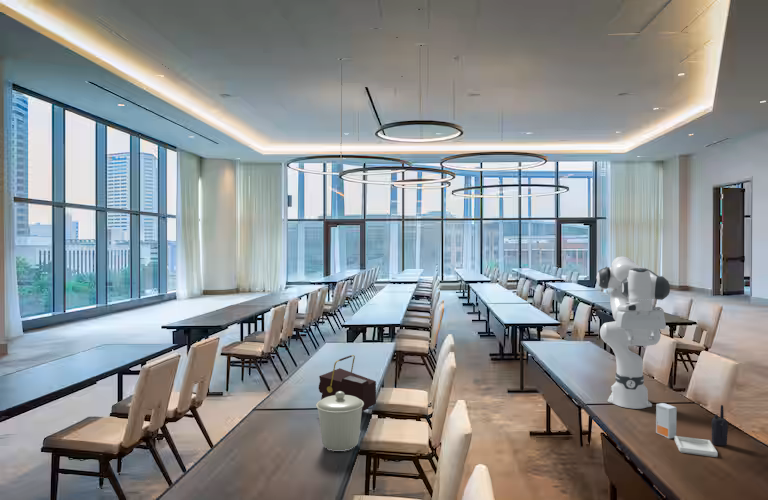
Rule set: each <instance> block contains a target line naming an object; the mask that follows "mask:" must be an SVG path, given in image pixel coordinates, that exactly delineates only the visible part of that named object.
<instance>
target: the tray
mask: <svg viewBox="0 0 768 500" xmlns="http://www.w3.org/2000/svg"><path fill="white" fill-rule="evenodd" d="M673 439H674V443H675V444H676V447H677V449H678V451H679V453H682V454H690V455H698V456H703V457H704V456H705V457H713V458H718V455H719V454H718V451H717V449H716V447H715V446H714V444H713V443H712V440H711V439H702V438H697V437H696V438H695V437H687V436H678V435H676V436H674V438H673Z"/></svg>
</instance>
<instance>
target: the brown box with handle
mask: <svg viewBox="0 0 768 500" xmlns="http://www.w3.org/2000/svg"><path fill="white" fill-rule="evenodd" d="M352 357H353V358H352ZM355 357H356V355H354V354H352V355H348V356H344V357H342V358H339V359H337V360H336V361H335V362H334V364H333V370H332V371H329V372H326V373H323V374H321V375H319V376H318V377H319V383H318V391H319V393H321V398H320V400H322V399H323V398H326V397H328V396H333V395H335V394H336V393H337V392H338V391H342V392H344V394H345V395H351V396H355V397H357V398H359V399H361V400H362V401H363V402H364V406H363V407H362V413H363V412H365V411H366V410H367V409H369V408H370V407H373V406H374V405H375V404H377V382H376V380H374V379H370V378H369V377H368V378H367V377H365V376H363V375H361V374H357V373H355V372H353V370H354V363H355V359H356V358H355ZM349 358H352V364H351V370H350V371H348V370H346V369H344V368H340V367H339V368H337V369H336V364H337V363H338V362H342V361H344V360H347V359H349Z"/></svg>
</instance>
